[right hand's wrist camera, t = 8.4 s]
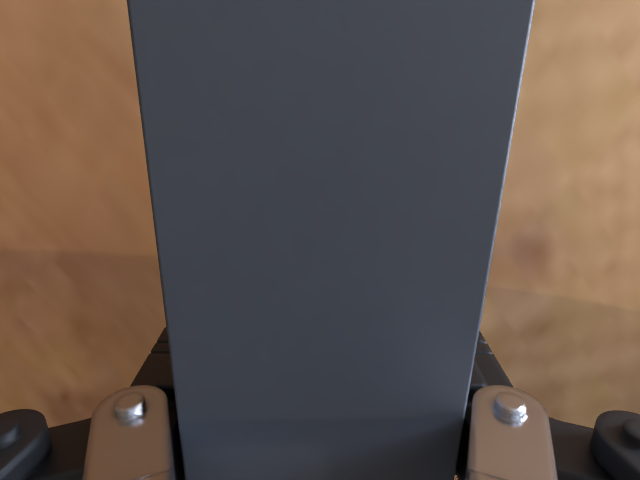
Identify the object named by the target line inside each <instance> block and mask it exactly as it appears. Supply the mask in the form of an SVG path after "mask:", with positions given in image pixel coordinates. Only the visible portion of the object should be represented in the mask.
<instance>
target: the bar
mask: <svg viewBox="0 0 640 480" xmlns="http://www.w3.org/2000/svg"><path fill="white" fill-rule="evenodd" d="M534 4H535V0H127V6H128V14H129V22H130V30H131V38H132V47H133V55H134V63H135V71H136V80H137V88H138V96H139V104H140V112H141V121H142V129H143V137H144V145H145V154H146V162H147V170H148V178H149V186H150V195H151V203H152V211H153V219H154V228H155V236H156V244H157V252H158V261H159V269H160V277H161V285H162V293H163V302H164V310H165V318H166V326H167V335H168V343H169V351H170V359H171V367H172V376H173V384H174V392H175V400H176V409H177V417H178V425H179V433H180V441H181V450H182V458H183V466H184V474H185V480H454V476H455V470H456V464H457V458H458V452H459V446H460V440H461V434H462V429H463V423H464V417H465V411H466V405H467V399H468V393H469V387H470V381H471V376H472V370H473V364H474V358H475V352H476V346H477V340H478V334H479V328H480V323H481V317H482V311H483V305H484V299H485V293H486V287H487V281H488V275H489V270H490V264H491V258H492V252H493V246H494V240H495V234H496V228H497V222H498V217H499V211H500V205H501V199H502V193H503V187H504V181H505V175H506V169H507V164H508V158H509V152H510V146H511V140H512V134H513V128H514V122H515V116H516V111H517V105H518V99H519V93H520V87H521V81H522V75H523V69H524V63H525V57H526V52H527V46H528V40H529V34H530V28H531V22H532V16H533V10H534Z"/></svg>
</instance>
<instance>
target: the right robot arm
mask: <svg viewBox="0 0 640 480" xmlns="http://www.w3.org/2000/svg"><path fill="white" fill-rule="evenodd" d="M455 475H457V478H458V480H640V415H639V414H636V413H632V412H627V411H615V410H614V411H607V412H604V413H602V414H600V415H599V416H598V418H597V420H596V423H595V426H594V429H593V428H589V427H584V426H580V425H575V424H571V423H566V422H562V421H559V420H555V419H552V418H550V417H548V414H547V411H546V410H545V408H544V407H543V405H542V404H541V403H540V402H539V401H538V400H537V399H535V398H534V397H533V396H531V395H529V394H528V393H526V392H524V391H521V390H519V389H516V388H513V386H512V384H511V383H510V381H509V379H508V378H507V376H506V374H505V373H504V371H503V369H502V368H501V366H500V364H499V363H498V361H497V359H496V358H495V356H494V354H492V351H491V349H490V348H489V346H488V344H486V341H485V339H484V338H483V336H482V334H481V333H480V331H479V334H478V340H477V346H476V352H475V358H474V364H473V370H472V376H471V381H470V387H469V393H468V399H467V405H466V411H465V417H464V423H463V429H462V434H461V440H460V446H459V452H458V458H457V464H456V470H455ZM0 480H185V474H184V466H183V458H182V450H181V441H180V433H179V425H178V417H177V409H176V400H175V392H174V384H173V376H172V367H171V359H170V351H169V343H168V335H167V327H166V328H164V330H163V332H162V333H161V335H160V337H159V338H158V340H157V343H156V344H155V345H154V347H153V349H152V350H151V354H149V355H148V357H147V359H146V360H145V362H144V364H143V366H142V367H141V369H140V371H139V372H138V374H137V376H136V377H135V379H134V381H133V382H132V384H131V386H130V387H127V388H124V389H121V390H119V391H116V392H114V393H112V394H111V395H109V396H107V397H106V398H105V399H103V400H102V401H101V402H100V403H99V404H98V405H97V407H96V408H95V410H94V412H93V414H92V418H89V419H86V420H82V421H78V422H74V423H69V424H65V425H60V426H56V427H51V428H48V426H47V423H46V419H45V417H44V415H43V414H42V413H40V412H38V411H35V410H31V409H19V410H13V411H8V412H5V413H1V414H0Z"/></svg>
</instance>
